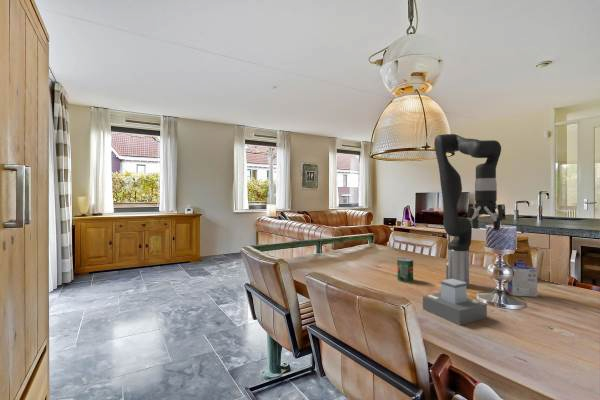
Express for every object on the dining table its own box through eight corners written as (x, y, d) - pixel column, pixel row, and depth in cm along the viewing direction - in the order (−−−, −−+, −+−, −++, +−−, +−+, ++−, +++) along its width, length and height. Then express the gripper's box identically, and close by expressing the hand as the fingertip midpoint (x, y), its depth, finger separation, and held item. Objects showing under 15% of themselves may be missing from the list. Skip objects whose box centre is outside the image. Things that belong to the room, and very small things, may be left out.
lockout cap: (441, 298, 113) (440, 280, 113) (452, 296, 115) (452, 278, 115) (455, 304, 107) (455, 284, 107) (466, 301, 110) (466, 282, 110)
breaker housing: (422, 308, 116) (422, 294, 116) (448, 303, 122) (448, 289, 122) (459, 325, 101) (459, 308, 101) (486, 318, 107) (486, 302, 107)
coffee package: (534, 281, 150) (534, 238, 150) (505, 278, 156) (505, 236, 155) (529, 276, 159) (529, 235, 159) (501, 274, 165) (501, 234, 164)
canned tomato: (415, 282, 151) (415, 260, 151) (400, 282, 151) (399, 260, 151) (410, 278, 159) (410, 257, 159) (395, 278, 159) (395, 257, 159)
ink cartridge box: (531, 293, 133) (531, 260, 133) (538, 297, 128) (538, 263, 127) (506, 291, 135) (506, 260, 135) (512, 295, 130) (512, 262, 129)
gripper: (509, 189, 116) (509, 230, 116) (475, 190, 129) (475, 227, 129) (497, 189, 113) (497, 232, 113) (463, 190, 126) (463, 228, 126)
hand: (485, 229), depth 121 cm, fingers open, 8 cm apart
